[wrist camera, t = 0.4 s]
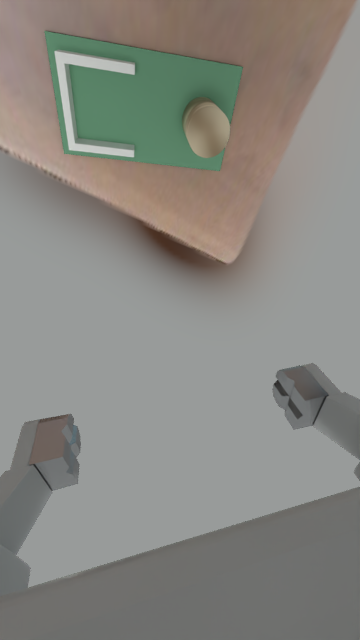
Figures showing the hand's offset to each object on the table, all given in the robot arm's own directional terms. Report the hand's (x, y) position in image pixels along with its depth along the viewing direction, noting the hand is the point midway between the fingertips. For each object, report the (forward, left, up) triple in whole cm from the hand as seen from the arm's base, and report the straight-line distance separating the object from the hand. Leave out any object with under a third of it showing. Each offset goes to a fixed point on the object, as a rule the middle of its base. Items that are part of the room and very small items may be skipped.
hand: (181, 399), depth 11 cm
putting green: (0, -1, -48) cm, 48 cm away
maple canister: (-6, +5, -48) cm, 48 cm away
